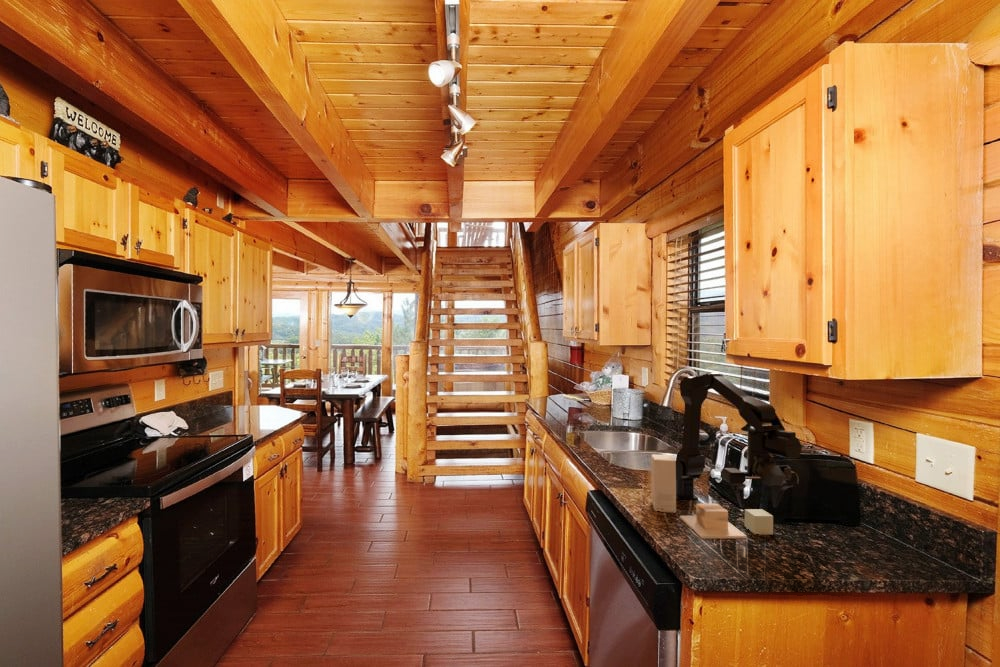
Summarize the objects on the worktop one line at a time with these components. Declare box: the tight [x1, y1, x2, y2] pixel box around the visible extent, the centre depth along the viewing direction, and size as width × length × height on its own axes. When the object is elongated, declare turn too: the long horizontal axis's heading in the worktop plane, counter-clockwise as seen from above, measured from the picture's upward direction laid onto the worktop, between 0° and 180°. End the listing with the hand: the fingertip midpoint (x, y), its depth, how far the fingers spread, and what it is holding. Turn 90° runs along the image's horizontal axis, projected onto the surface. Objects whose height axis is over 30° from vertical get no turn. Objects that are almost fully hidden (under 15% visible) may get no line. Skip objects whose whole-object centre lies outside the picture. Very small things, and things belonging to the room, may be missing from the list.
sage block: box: [743, 508, 774, 535], centre depth 131 cm, size 5×5×5 cm
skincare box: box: [650, 454, 677, 514], centre depth 147 cm, size 8×7×16 cm
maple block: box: [695, 502, 729, 530], centre depth 132 cm, size 6×6×5 cm
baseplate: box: [679, 515, 748, 539], centre depth 132 cm, size 14×12×1 cm
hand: (758, 507), depth 131 cm, fingers open, 9 cm apart
